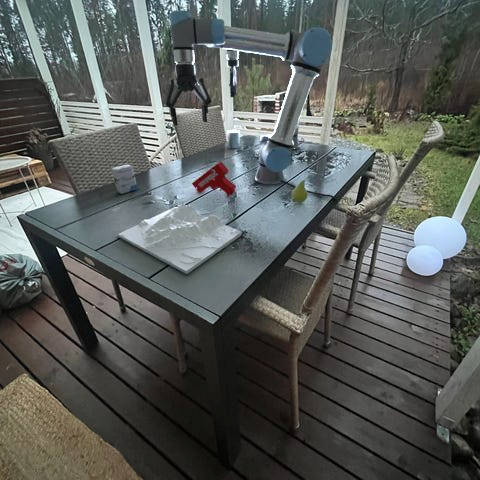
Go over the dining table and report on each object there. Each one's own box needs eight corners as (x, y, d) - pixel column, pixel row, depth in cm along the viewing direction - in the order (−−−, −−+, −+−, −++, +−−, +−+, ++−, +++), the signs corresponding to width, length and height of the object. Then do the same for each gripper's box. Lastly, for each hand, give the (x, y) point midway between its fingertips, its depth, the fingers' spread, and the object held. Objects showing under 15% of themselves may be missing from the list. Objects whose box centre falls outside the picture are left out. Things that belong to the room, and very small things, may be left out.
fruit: (288, 200, 123) (290, 174, 116) (302, 197, 125) (305, 172, 119) (296, 206, 118) (299, 179, 111) (310, 203, 120) (314, 177, 114)
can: (240, 148, 202) (240, 132, 196) (228, 148, 201) (227, 132, 195) (239, 145, 210) (239, 130, 204) (227, 145, 209) (227, 130, 203)
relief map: (186, 274, 80) (184, 260, 77) (118, 236, 97) (114, 224, 95) (241, 234, 98) (241, 222, 95) (176, 209, 116) (174, 198, 113)
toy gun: (240, 187, 127) (221, 160, 123) (237, 190, 124) (218, 163, 120) (214, 205, 137) (195, 180, 133) (210, 208, 134) (191, 183, 130)
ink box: (133, 186, 138) (127, 163, 132) (137, 189, 135) (132, 165, 129) (116, 191, 133) (110, 167, 127) (121, 194, 130) (114, 170, 124)
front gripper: (209, 63, 112) (212, 119, 123) (149, 64, 100) (159, 125, 112) (218, 63, 107) (220, 121, 118) (156, 63, 95) (165, 128, 107)
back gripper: (229, 59, 186) (230, 94, 198) (224, 59, 165) (225, 98, 177) (239, 59, 186) (240, 94, 197) (236, 58, 165) (237, 98, 176)
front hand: (190, 123), depth 115 cm, fingers open, 13 cm apart
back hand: (233, 96), depth 187 cm, fingers open, 13 cm apart
